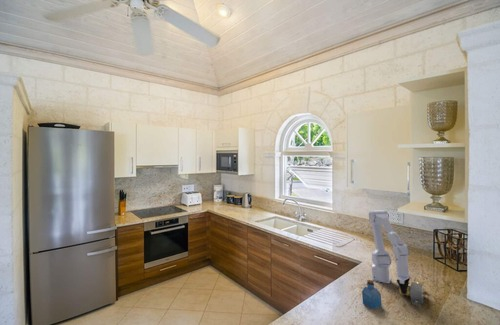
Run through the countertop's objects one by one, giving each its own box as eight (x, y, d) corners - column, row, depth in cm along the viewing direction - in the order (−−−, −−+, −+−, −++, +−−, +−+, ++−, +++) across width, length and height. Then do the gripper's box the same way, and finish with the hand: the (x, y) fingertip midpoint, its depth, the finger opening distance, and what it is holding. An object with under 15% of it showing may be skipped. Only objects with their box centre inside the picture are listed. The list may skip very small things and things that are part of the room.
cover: (413, 291, 135) (413, 283, 135) (414, 287, 139) (413, 279, 139) (425, 293, 132) (424, 285, 132) (425, 289, 136) (424, 281, 136)
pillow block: (410, 304, 122) (409, 291, 122) (412, 291, 135) (411, 279, 135) (422, 307, 119) (421, 293, 119) (423, 293, 132) (422, 281, 132)
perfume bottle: (362, 303, 125) (361, 280, 126) (371, 300, 127) (369, 277, 128) (372, 309, 119) (370, 285, 120) (381, 306, 121) (379, 282, 122)
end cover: (399, 295, 130) (399, 285, 130) (400, 291, 134) (400, 282, 134) (419, 300, 124) (418, 290, 124) (420, 295, 128) (419, 286, 129)
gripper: (409, 273, 123) (412, 299, 122) (412, 264, 135) (414, 288, 134) (394, 270, 127) (396, 296, 127) (397, 261, 139) (399, 285, 138)
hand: (404, 292), depth 130 cm, fingers open, 4 cm apart
